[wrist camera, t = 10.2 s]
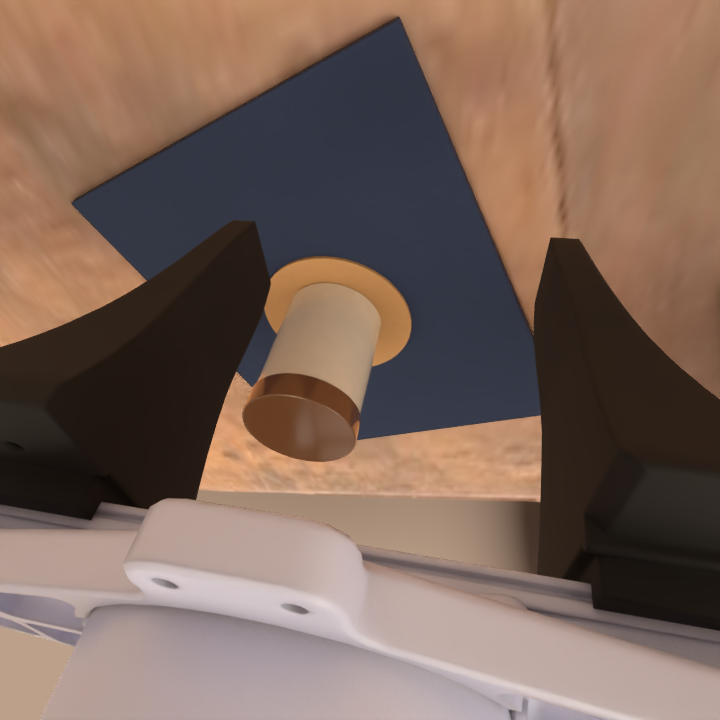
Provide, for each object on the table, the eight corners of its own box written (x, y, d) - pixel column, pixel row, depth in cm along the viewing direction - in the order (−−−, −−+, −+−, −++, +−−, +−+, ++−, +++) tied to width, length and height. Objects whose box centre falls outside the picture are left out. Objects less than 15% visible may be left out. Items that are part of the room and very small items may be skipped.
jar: (400, 340, 28) (376, 456, 24) (320, 359, 31) (285, 466, 26) (352, 268, 25) (315, 385, 20) (268, 295, 28) (218, 405, 23)
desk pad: (562, 407, 30) (563, 415, 30) (311, 441, 39) (309, 448, 39) (399, 15, 17) (396, 21, 17) (74, 199, 26) (68, 205, 26)
